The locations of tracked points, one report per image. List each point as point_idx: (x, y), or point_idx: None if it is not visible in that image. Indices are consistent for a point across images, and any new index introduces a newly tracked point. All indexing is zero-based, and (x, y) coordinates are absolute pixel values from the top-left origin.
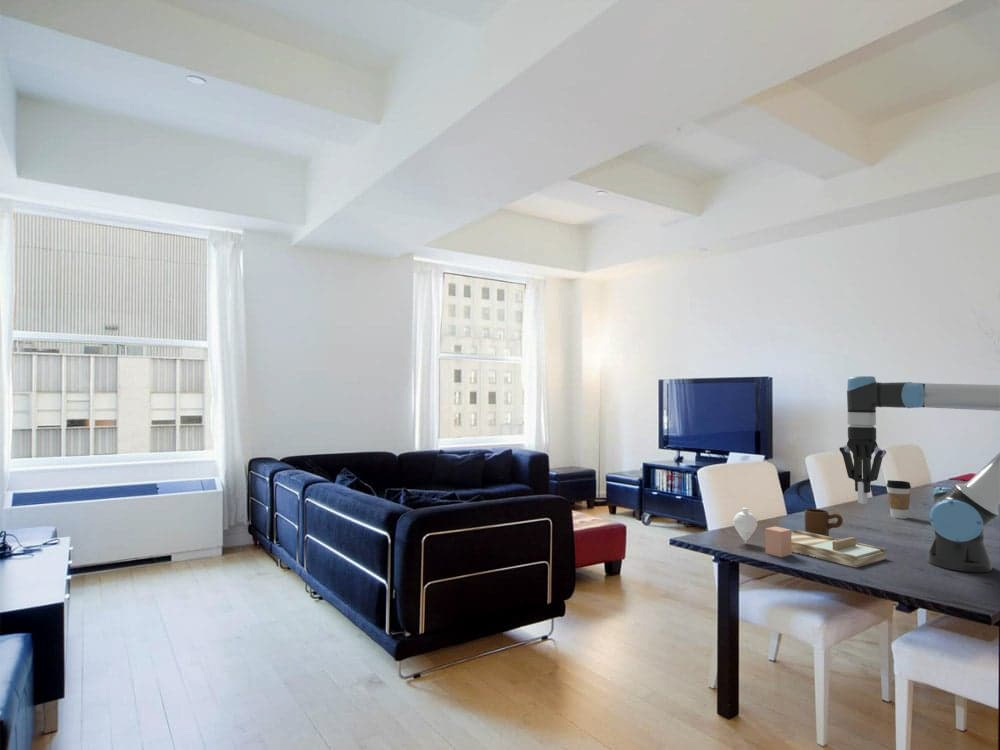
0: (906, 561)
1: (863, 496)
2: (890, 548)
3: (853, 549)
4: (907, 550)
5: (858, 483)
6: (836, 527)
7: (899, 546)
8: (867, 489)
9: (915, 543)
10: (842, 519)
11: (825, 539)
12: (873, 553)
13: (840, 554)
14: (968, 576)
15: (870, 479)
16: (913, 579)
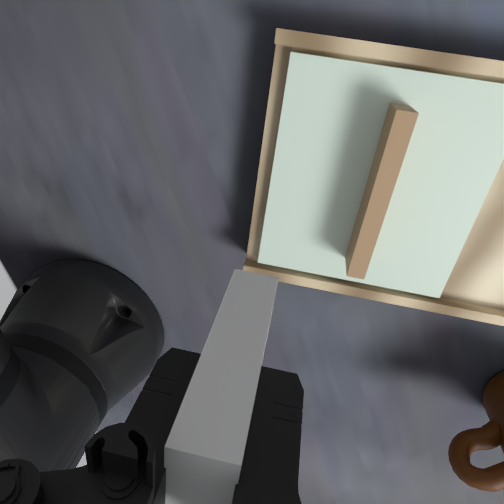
0: (195, 269)
1: (217, 315)
2: None
3: (334, 188)
4: None
5: (236, 440)
6: (465, 430)
7: None
8: (156, 379)
9: None
10: (451, 465)
11: (481, 305)
12: None
13: (355, 40)
14: (25, 223)
15: (9, 481)
16: (77, 37)
